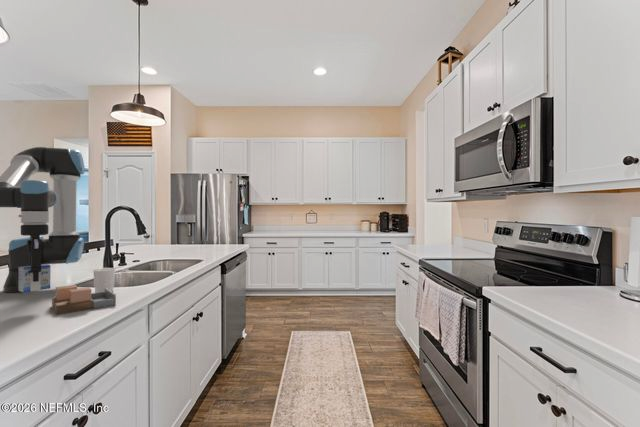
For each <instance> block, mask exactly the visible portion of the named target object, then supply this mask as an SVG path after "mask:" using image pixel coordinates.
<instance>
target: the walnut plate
mask: <svg viewBox="0 0 640 427" xmlns="http://www.w3.org/2000/svg"><path fill="white" fill-rule="evenodd" d="M51 306H52V309H53V311H54V312H55V314H56V315H63V314H64V315H65V314H69V313H74V312H81V311H85V310H92V309H93V299H92V298H91V300H89V301H83V302H76V303H70V301H69V299H63V300H57V299H56V297H52V298H51Z"/></svg>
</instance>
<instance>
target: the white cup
mask: <svg viewBox="0 0 640 427" xmlns="http://www.w3.org/2000/svg"><path fill="white" fill-rule="evenodd" d="M115 273H116V268H115V267H102V268H101V267H99V268H95V269H93V287H94V293H99V292H105V288H107V289H109V290H110V291H113V292H114V290H115V289H114V285H115V277H116V276H115V275H116V274H115Z"/></svg>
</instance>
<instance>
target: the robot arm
mask: <svg viewBox="0 0 640 427" xmlns="http://www.w3.org/2000/svg"><path fill="white" fill-rule="evenodd" d="M85 170H86V169H85V162H84V157H83V155H82V153H81V151H79V150H78V149H71V148H62V147H45V146H37V147H32V148H28V149H24V150H22V151H20V152H19V153H17V154H16V155H14V156H13V157H12V158H11V160H10V165H9V166H8V167H7V168H6V170H4V171H3V173H1V175H0V208H20V213H21V214H18V216H17V217H18V218H20V223H21V225H20V235H21V236H25V237H22V238H21V237H20V238H15V239H12V240H10V241H9V243H8V250H7V252H8V274H7V277H6V279H5V282H4V285H3V287H2V288H3V289H2V290H3V292H4V293H22V292H21V291H18V287H19V269H18V267H23V266H31V271H28V273H30V292H31V293H32V292H38V291H42V290H41V272H40V271H41V265H42V264H49V265H60V264H73V263H74V264H75V263H77V262H78V263H79V261H80V260H81V259H82V255H83V251H84V245H85V243H84V242H85V240H84V238H83V237H80V233H79V232H78V231H77V182H78V181H79V180H80V179H81V175H85V172H86V171H85ZM37 173H47V174H48V173H49V177H50V178H51V179H52V180H53V190H52V189H50V188H49V182H47V181H45V180H35V179H30V177H31V176H34V175H35V174H37ZM51 207H53V208H52V210H53V211H52V213H53V214H52V231H51V232H50V233H49V225H48V223H49V222H50V216H49V215H50V213H49V208H51ZM45 235H48V238H44V236H45ZM26 236H29V237H26Z"/></svg>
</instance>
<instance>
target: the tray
mask: <svg viewBox="0 0 640 427" xmlns="http://www.w3.org/2000/svg"><path fill="white" fill-rule="evenodd" d="M116 296H117V295H116V293H114V291H113V292H112V291H110V290H109V289H107V288H105V292H99V293H95V292H94V293H92V292H91V298H92V299H93V309H100V308H107V307H111V306H116V303H117V302H116V301H117V297H116Z"/></svg>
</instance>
